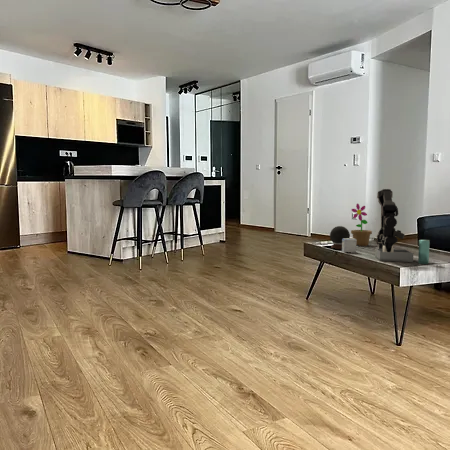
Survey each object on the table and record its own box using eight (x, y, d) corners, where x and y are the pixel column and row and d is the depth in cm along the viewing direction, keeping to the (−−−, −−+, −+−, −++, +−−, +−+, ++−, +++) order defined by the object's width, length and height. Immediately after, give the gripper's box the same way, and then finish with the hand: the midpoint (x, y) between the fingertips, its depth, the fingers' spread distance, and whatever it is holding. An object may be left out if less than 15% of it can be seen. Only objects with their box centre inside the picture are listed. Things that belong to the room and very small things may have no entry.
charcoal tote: (375, 257, 247) (375, 248, 247) (406, 257, 244) (407, 249, 244) (379, 260, 234) (380, 251, 234) (413, 261, 231) (413, 252, 231)
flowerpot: (346, 244, 303) (347, 203, 301) (357, 243, 313) (358, 202, 310) (364, 246, 292) (366, 203, 290) (375, 245, 302) (376, 203, 300)
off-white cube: (382, 254, 242) (382, 245, 242) (391, 254, 242) (391, 245, 241) (384, 255, 238) (384, 246, 237) (393, 255, 237) (393, 246, 236)
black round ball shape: (353, 248, 284) (354, 226, 283) (341, 249, 277) (341, 227, 275) (337, 246, 295) (338, 224, 294) (325, 247, 287) (326, 225, 286)
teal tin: (416, 262, 230) (417, 239, 229) (426, 262, 229) (427, 239, 228) (419, 263, 225) (420, 240, 224) (429, 264, 224) (430, 240, 223)
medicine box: (353, 251, 269) (354, 238, 268) (356, 252, 264) (356, 239, 264) (341, 251, 269) (342, 238, 268) (343, 252, 264) (344, 239, 263)
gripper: (408, 227, 228) (406, 256, 229) (399, 224, 246) (398, 251, 247) (386, 227, 230) (385, 255, 231) (379, 224, 248) (378, 250, 249)
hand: (387, 253), depth 239 cm, fingers closed on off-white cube, 5 cm apart
